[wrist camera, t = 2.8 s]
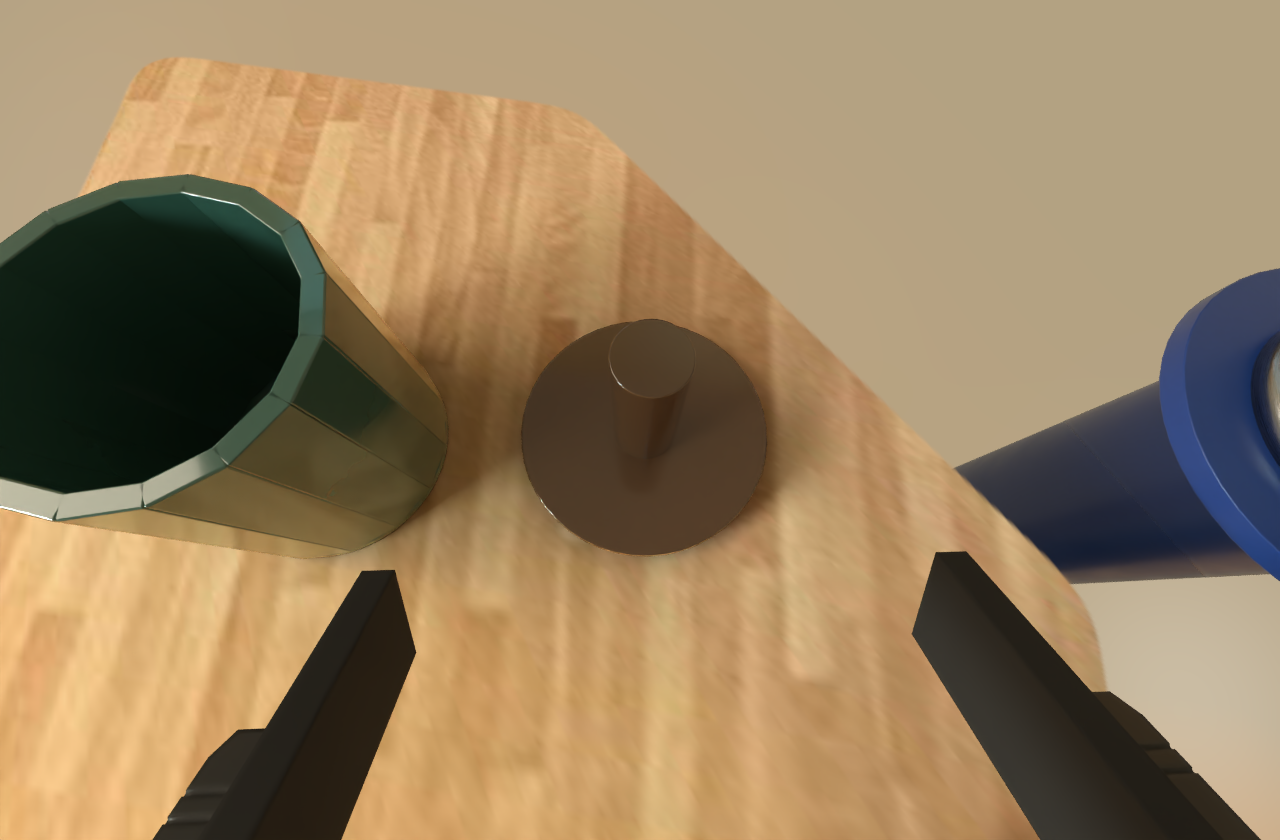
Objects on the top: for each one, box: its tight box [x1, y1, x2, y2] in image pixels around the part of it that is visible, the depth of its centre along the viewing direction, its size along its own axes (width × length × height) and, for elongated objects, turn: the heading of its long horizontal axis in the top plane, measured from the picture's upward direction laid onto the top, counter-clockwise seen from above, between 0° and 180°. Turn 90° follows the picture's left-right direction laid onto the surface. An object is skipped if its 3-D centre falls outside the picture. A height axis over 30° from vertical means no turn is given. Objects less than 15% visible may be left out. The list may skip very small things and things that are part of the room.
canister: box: [0, 174, 448, 559], centre depth 22 cm, size 12×12×12 cm
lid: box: [521, 319, 767, 557], centre depth 24 cm, size 13×13×10 cm
